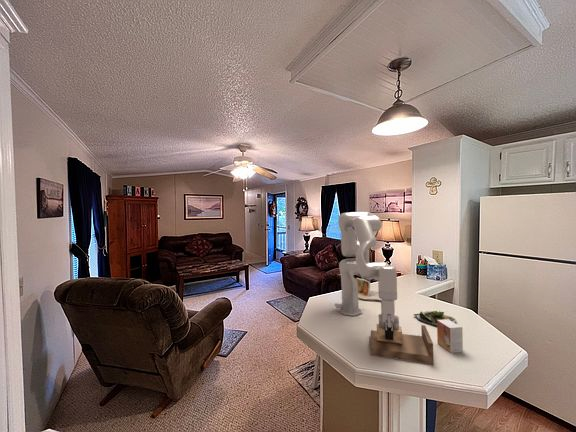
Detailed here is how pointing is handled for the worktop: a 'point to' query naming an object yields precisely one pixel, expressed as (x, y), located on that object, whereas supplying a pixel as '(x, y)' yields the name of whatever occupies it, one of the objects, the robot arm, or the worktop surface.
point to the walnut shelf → (405, 347)
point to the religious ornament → (366, 291)
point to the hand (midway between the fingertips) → (389, 335)
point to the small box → (450, 336)
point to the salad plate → (433, 317)
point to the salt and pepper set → (396, 331)
